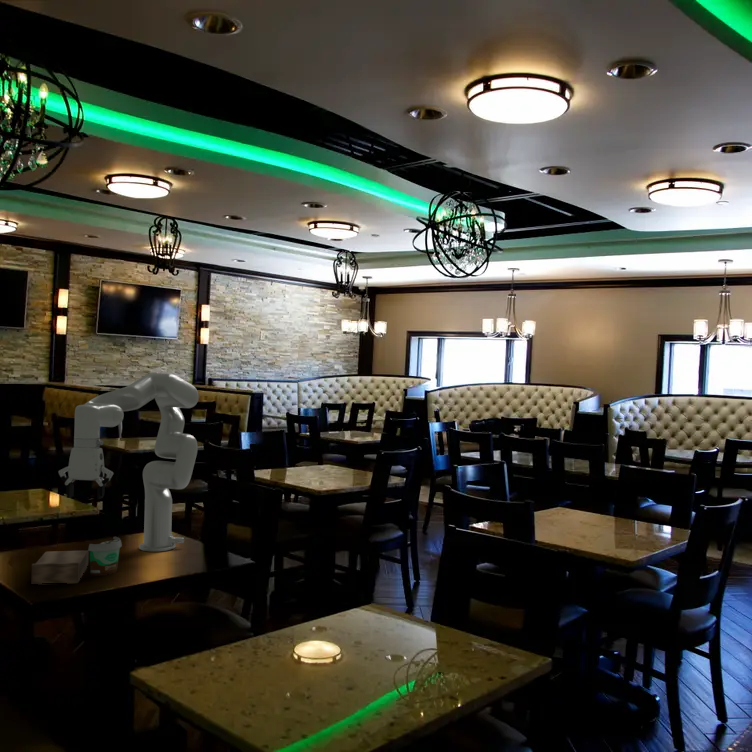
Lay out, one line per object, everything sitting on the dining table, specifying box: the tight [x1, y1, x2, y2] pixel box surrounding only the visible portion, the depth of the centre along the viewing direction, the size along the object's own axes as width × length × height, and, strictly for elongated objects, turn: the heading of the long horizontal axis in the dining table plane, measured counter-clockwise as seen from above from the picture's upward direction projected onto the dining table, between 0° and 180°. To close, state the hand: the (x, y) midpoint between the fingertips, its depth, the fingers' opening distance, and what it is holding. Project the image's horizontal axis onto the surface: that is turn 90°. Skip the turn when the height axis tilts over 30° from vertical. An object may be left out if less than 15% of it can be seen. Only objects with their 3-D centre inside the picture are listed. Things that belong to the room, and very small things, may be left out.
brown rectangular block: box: [30, 550, 90, 585], centre depth 228 cm, size 13×20×6 cm, turn 13°
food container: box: [88, 536, 123, 576], centre depth 232 cm, size 12×6×10 cm, turn 161°
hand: (85, 497), depth 231 cm, fingers open, 9 cm apart
